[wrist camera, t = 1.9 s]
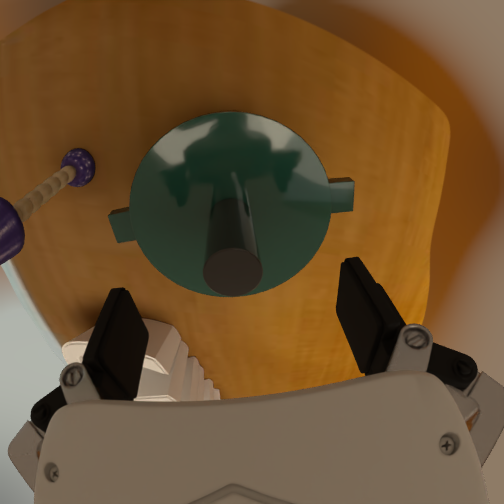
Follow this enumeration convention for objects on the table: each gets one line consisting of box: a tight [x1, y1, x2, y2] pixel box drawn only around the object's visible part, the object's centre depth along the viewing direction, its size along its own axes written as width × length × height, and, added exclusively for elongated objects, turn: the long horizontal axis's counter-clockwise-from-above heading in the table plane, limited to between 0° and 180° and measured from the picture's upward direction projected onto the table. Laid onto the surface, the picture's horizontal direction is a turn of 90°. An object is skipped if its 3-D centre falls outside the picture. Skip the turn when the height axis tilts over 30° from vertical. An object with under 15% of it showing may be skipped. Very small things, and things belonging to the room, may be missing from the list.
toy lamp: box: [0, 148, 95, 265], centre depth 17 cm, size 5×5×17 cm
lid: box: [129, 111, 332, 297], centre depth 16 cm, size 14×14×7 cm
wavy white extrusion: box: [62, 318, 220, 401], centre depth 38 cm, size 35×16×10 cm, turn 11°
